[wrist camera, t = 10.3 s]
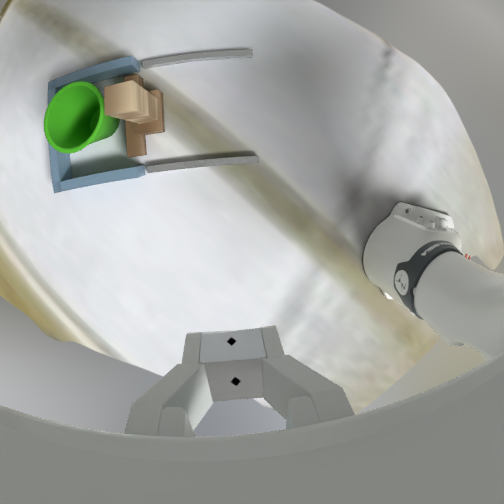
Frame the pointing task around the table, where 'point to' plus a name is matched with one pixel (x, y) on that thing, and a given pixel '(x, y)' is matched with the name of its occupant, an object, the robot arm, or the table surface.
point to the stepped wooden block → (135, 111)
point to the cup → (77, 118)
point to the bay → (62, 160)
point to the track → (190, 58)
